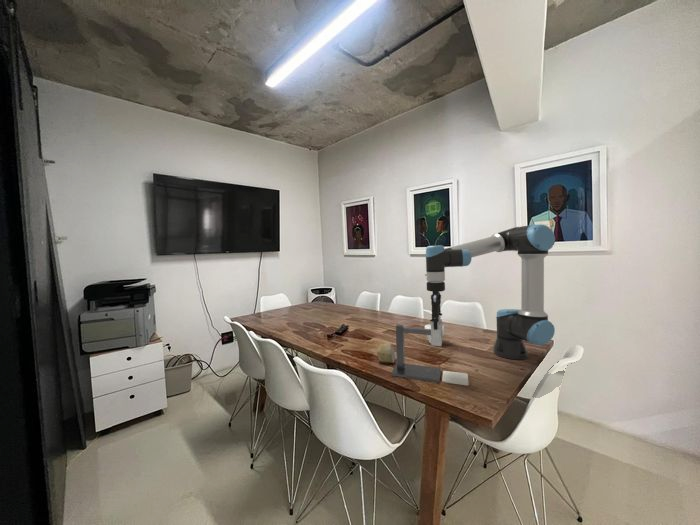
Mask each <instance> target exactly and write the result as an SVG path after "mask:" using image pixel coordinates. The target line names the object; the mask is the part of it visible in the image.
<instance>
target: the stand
mask: <svg viewBox="0 0 700 525" xmlns="http://www.w3.org/2000/svg"><path fill="white" fill-rule="evenodd" d="M405 334H413V335H422V336H425V335H426V336H427V335H431V329H425V328H419V327H417V328H416V327H405V325H404V324H399V323H398V324H396V325H395V336H396V337H395V341H396V363H395V366H394V367H393V369H392V371H391V377H396V376H398V377H397V378H403V377H404V379H409V380H410V379H411V380H418V381H424V382H432V383H433V382H434V383H441V382H440V381H441V375H442V374H441V373H442V368H441V367H436V366H435V367H433V366H427V365H419V364H411V363H405V362H406V361H405V360H406V358H405V357H406V356H405V355H406V353H405Z"/></svg>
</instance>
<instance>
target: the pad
mask: <svg viewBox="0 0 700 525" xmlns="http://www.w3.org/2000/svg"><path fill="white" fill-rule="evenodd" d="M441 379H442V380H441V382H442V383H445V384H446V383H447V384H454V385H462V386H469V375H468V373H465V372H456V371H448V370H443V371H442V378H441Z"/></svg>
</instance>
